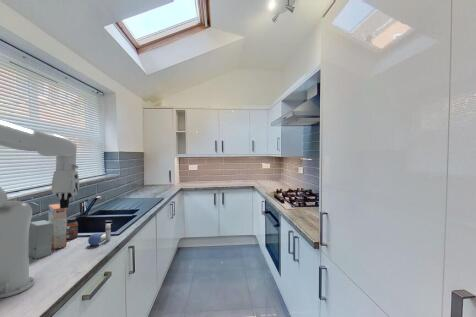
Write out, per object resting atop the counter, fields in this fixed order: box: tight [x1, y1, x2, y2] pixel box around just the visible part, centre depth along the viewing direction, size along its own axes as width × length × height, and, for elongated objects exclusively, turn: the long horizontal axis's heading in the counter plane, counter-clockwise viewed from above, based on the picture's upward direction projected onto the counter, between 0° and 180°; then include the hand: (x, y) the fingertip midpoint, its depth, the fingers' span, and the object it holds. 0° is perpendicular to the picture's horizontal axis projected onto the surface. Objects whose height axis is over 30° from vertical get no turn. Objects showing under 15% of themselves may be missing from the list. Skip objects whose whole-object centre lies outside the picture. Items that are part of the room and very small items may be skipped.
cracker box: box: [48, 203, 68, 250], centre depth 127 cm, size 14×6×21 cm, turn 46°
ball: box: [87, 233, 102, 247], centre depth 127 cm, size 6×6×6 cm
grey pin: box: [105, 223, 112, 242], centre depth 134 cm, size 2×2×9 cm
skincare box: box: [29, 219, 53, 260], centre depth 114 cm, size 8×7×16 cm
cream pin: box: [100, 232, 106, 242], centre depth 136 cm, size 2×2×9 cm
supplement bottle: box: [66, 217, 79, 241], centre depth 137 cm, size 6×6×11 cm
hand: (64, 207), depth 110 cm, fingers closed
